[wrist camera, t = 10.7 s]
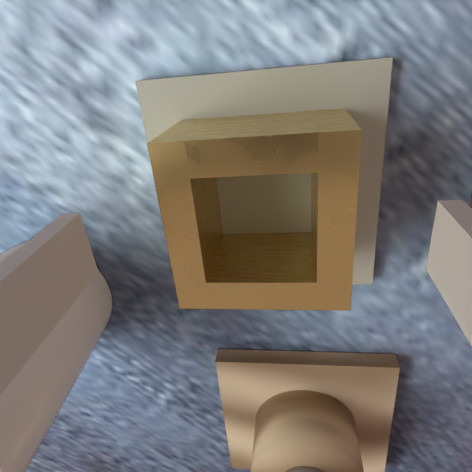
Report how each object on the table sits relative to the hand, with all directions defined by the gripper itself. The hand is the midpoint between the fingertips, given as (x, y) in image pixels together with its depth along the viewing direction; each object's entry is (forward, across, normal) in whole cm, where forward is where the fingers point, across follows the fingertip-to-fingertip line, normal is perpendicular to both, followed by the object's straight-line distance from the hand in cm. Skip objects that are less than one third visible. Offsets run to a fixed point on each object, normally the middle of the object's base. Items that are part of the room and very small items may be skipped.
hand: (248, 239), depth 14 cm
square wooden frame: (+7, 0, -1) cm, 7 cm away
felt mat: (+7, 0, -1) cm, 7 cm away
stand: (+7, +2, -19) cm, 20 cm away
